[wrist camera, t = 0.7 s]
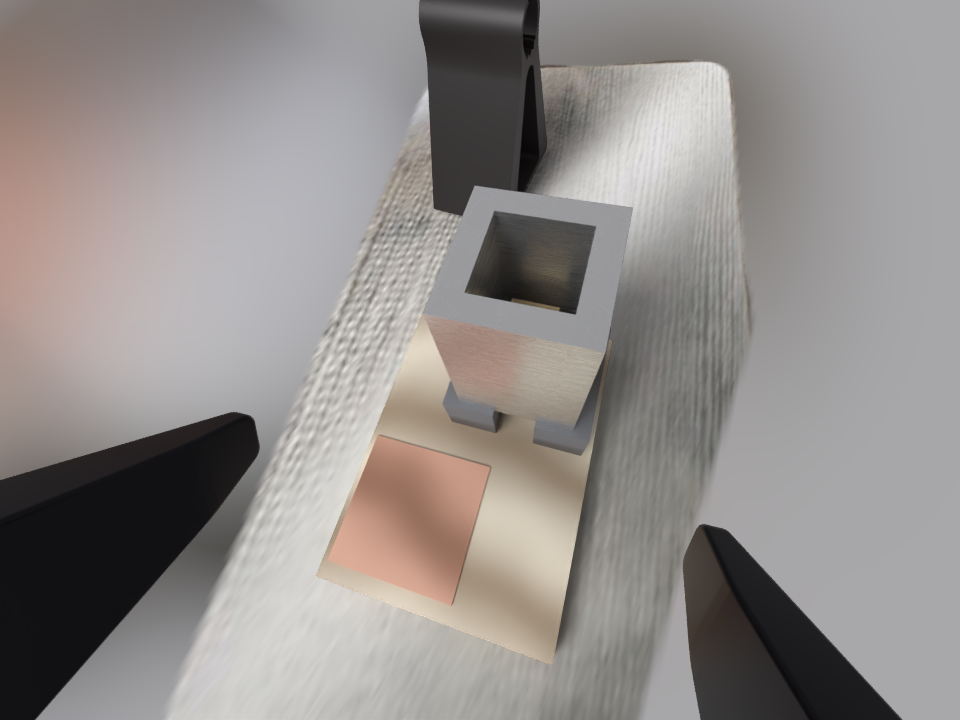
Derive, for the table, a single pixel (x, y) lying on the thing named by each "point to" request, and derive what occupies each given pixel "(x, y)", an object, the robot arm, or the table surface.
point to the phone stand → (482, 96)
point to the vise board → (466, 508)
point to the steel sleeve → (534, 278)
